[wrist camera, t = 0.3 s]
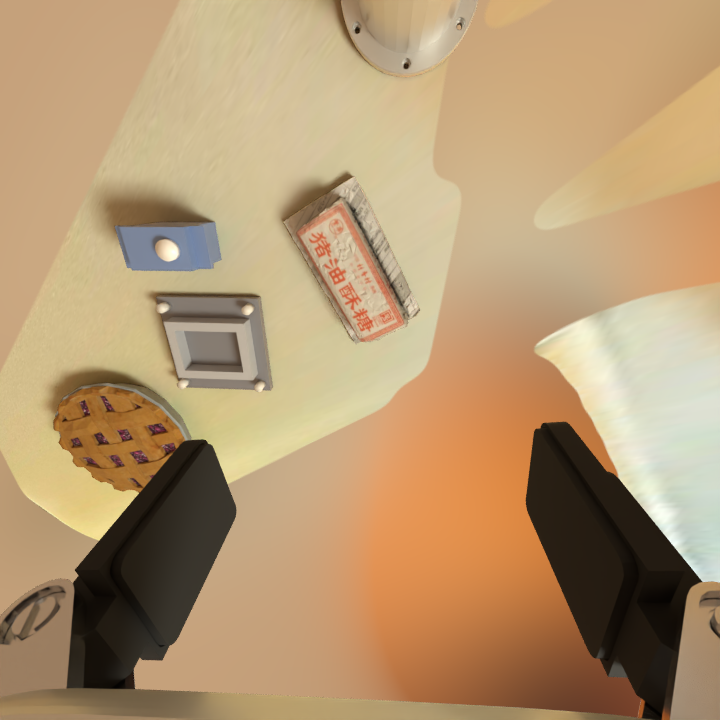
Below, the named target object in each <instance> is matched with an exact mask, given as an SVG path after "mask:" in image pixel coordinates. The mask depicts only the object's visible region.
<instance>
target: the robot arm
mask: <svg viewBox="0 0 720 720" xmlns="http://www.w3.org/2000/svg"><path fill="white" fill-rule="evenodd" d="M477 3H478V0H341V7H342V11H343V16H344V20H345V23H346V26H347V29H348V32H349V35H350V37H351V39H352V41H353V43H354V45H355V47H356V48H357V50H358V51H359V52H360V54H361V55H362V56H363V58H364V59H365V60H366V61H368V62H369V63H370V64H371V65H372V66H373V67H374V68H376V69H378V70H380V71H382V72H383V73H385V74H389V75H393V76H396V77H411V76H416V75H421V74H423V73H425V72H427V71H430V70H432V69H434V68H435V67H436V66H438V65H439V64H440V63H442V62H443V61H444V60H445V59H446V58H447V57H448V56H449V55H450V54H451V53H452V52H453V51H454V50H455V49H456V47H457V45H458V44H459V43H460V41H461V40H462V38H463V37H464V35H465V33H466V31H467V29H468V27H469V25H470V23H471V21H472V18H473V16H474V13H475V11H476V8H477ZM457 25H461V30H458V29H457V27H456V26H457ZM356 29H360V33H358V34H356V33H355V30H356ZM404 64H408V65H409V68H408V69H404V67H403V66H404ZM526 507H527V511H528V514H529V516H530V518H531V521H532V523H533V525H534V528H535V530H536V532H537V535H538V537H539V539H540V541H541V544H542V546H543V548H544V550H545V553H546V555H547V557H548V560H549V562H550V564H551V567H552V569H553V571H554V573H555V576H556V578H557V580H558V583H559V585H560V587H561V589H562V592H563V594H564V596H565V599H566V601H567V603H568V606H569V608H570V610H571V612H572V614H573V617H574V619H575V622H576V624H577V626H578V628H579V631H580V633H581V635H582V638H583V640H584V642H585V644H586V646H587V649H588V651H589V652H590V654H591V655H592V656H593V657H594V658H600V660H601V662H602V664H603V667H604V669H605V671H606V673H607V675H608V677H628V679H629V681H630V683H631V685H632V687H633V689H634V691H635V693H636V695H638V696H639V697H640V698H641V703H640V708H639V713H638V718H635V717H628V716H619V715H612V714H597V713H584V712H571V711H557V710H544V709H531V708H516V707H496V706H479V705H460V704H441V703H422V702H404V701H385V700H362V699H342V698H323V697H301V696H280V695H258V694H257V695H256V694H237V693H236V694H235V693H213V692H212V693H211V692H189V691H163V690H141V689H135V682H134V667H135V665H136V663H137V661H138V659H139V658H141V659H142V660H163V658H164V656H165V654H166V652H167V650H168V648H169V646H170V645H172V644H173V643H174V642H175V641H176V640H177V638H178V637H179V635H180V632H181V630H182V628H183V626H184V624H185V621H186V620H187V618H188V616H189V614H190V612H191V610H192V607H193V605H194V603H195V601H196V599H197V597H198V595H199V593H200V591H201V589H202V587H203V584H204V582H205V580H206V578H207V576H208V574H209V572H210V570H211V568H212V566H213V564H214V561H215V559H216V557H217V555H218V553H219V551H220V549H221V547H222V544H223V542H224V541H225V538H226V536H227V534H228V532H229V530H230V528H231V526H232V524H233V522H234V519H235V517H236V505H235V503H234V500H233V498H232V495H231V492H230V490H229V487H228V485H227V482H226V479H225V477H224V474H223V472H222V469H221V466H220V464H219V461H218V459H217V456H216V453H215V451H214V448H213V446H212V445H211V444H208V442H207V441H206V440H186V441H183V442H182V443H181V444H180V445H179V447H178V448H177V449H176V450H175V451H174V453H173V454H172V455H171V456H170V457H169V458H168V460H167V461H166V462H165V463H164V464H163V466H162V467H161V468H160V469H159V470H158V472H157V473H156V474H155V475H154V476H153V478H152V479H151V480H150V481H149V482H148V483H147V485H146V486H145V487H144V488H143V489H142V491H141V492H140V493H139V494H138V495H137V497H136V498H135V499H134V500H133V501H132V502H131V504H130V505H129V506H128V507H127V508H126V510H125V511H124V512H123V513H122V514H121V516H120V517H119V518H118V519H117V520H116V522H115V523H114V524H113V525H112V526H111V527H110V529H109V530H108V531H107V532H106V533H105V535H104V536H103V537H102V538H101V539H100V541H99V542H98V543H97V544H96V545H95V547H94V548H93V549H92V550H91V551H90V552H89V554H88V555H87V556H86V557H85V558H84V560H83V561H82V562H81V563H80V564H79V566H78V567H77V568H76V569H75V571H76V572H77V574H78V575H79V576H78V577H77V579H76V580H75V581H74V582H73V583H72V582H71V581H70V580H68V579H55V580H51V581H48V582H46V583H44V584H41V585H39V586H37V587H35V588H33V589H32V590H30V591H29V592H27V593H25V594H24V595H23V596H21V597H20V598H19V599H18V600H16V601H15V602H14V603H13V604H11V605H10V607H8V608H7V609H6V610H5V611H4V612H3V614H1V616H0V720H720V583H718V582H702V581H701V580H700V578H699V577H698V576H697V575H696V573H695V572H694V571H693V570H692V569H691V567H690V566H689V565H688V564H687V562H686V561H685V560H684V559H683V557H682V556H681V555H680V554H679V553H678V551H677V550H676V549H675V548H674V546H673V545H672V544H671V543H670V541H669V540H668V539H667V538H666V536H665V535H664V534H663V533H662V532H661V530H660V529H659V528H658V527H657V525H656V524H655V523H654V522H653V520H652V519H651V518H650V517H649V515H648V514H647V513H646V512H645V511H644V509H643V508H642V507H641V506H640V504H639V503H638V502H637V501H636V499H635V498H634V497H633V496H632V495H631V493H630V492H629V491H628V490H627V488H626V487H625V486H624V485H623V483H622V482H621V481H620V480H619V479H618V478H617V477H616V476H615V475H614V474H613V473H610V472H607V471H606V470H605V469H604V468H603V466H602V465H601V464H600V462H599V461H598V460H597V459H596V457H595V456H594V455H593V454H592V452H591V451H590V450H589V448H588V447H587V446H586V445H585V443H584V442H583V441H582V440H581V438H580V437H579V436H578V435H577V433H576V432H575V431H574V429H573V428H572V427H571V426H570V425H569V424H568V423H567V422H554V423H553V422H552V423H543V424H542V425H541V428H540V429H535V431H534V437H533V445H532V454H531V462H530V471H529V478H528V487H527V494H526Z"/></svg>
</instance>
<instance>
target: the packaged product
mask: <svg viewBox="0 0 720 720" xmlns="http://www.w3.org/2000/svg"><path fill="white" fill-rule="evenodd" d="M284 224H285V225H286V227H287V229H288V231H289V232H290V234H291V236H292V238H293V240H294V241H295V243H296V245H297V246H298V248H299V249H300V251H301V253H302V254H303V256H304V258H305V259H306V261H307V263H308V265H309V266H310V268H311V270H312V271H313V273H314V275H315V277H316V278H317V280H318V282H319V283H320V285H321V287H322V289H323V290H324V292H325V293H326V295H327V296H328V297H329V298H330V302H331V303H332V305H333V307H334V308H335V310H336V312H337V314H338V315H339V317H340V318H341V320H342V322H343V324H344V325H345V327H346V329H347V331H348V332H349V334H350V336H351V337H352V339H353V341H354V342H355V344H357V343H359V342H367V341H368V342H371V341H373V340H379V339H381V338H383V337H384V336H386V335H388V334H389V333H392V332H395V331H396V330H398V329H401V328H404V327H406V326H407V324H408V320H409V319H411V318H413V317H415V316H417V315H418V313H419V311H420V309H419V306H418V303H417V302H416V300H415V298H414V296H413V294H412V293H411V291H410V288H409V286H408V284H407V282H406V280H405V277H404V275H403V273H402V271H401V269H400V267H399V265H398V263H397V261H396V259H395V257H394V254H393V252H392V250H391V248H390V245H389V243H388V241H387V239H386V237H385V235H384V233H383V231H382V229H381V227H380V225H379V223H378V220H377V218H376V216H375V214H374V212H373V210H372V208H371V206H370V204H369V202H368V200H367V198H366V196H365V194H364V192H363V190H362V188H361V186H360V185H359V183H358V181H357V180H356V178H355V176H353V177H352V178H350V179H348V180H347V181H345V182H343V183H342V184H340V185H339V186H337V187H336V188H334V189H333V190H331V191H330V192H328V193H327V194H325V195H323V196H322V197H320V198H318V199H316V200H315V201H313V202H312V203H310V204H309V205H307V206H306V207H304V208H302V209H301V210H299V211H298V212H296V213H295V214H294V215H292V216H291V217H289V218H288V219H286V220H285V221H284Z"/></svg>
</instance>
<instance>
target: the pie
mask: <svg viewBox="0 0 720 720" xmlns="http://www.w3.org/2000/svg"><path fill="white" fill-rule="evenodd" d="M55 417H56V418H55V419H54V430H56V431H59V434H60V437H61V438H60V441H59V444H60V445H61V447H62V448H63V449H65V450H68V451H69V452H70V453H71V454H72V456H73V457H74V458H73V463H74V464H75V465H76V466H77V467H84V468H86V469H87V470H88V471H89V472H91V474H92V477H93V478H95V479H96V480H98V481H100V482H107V483H110V484H112V485H113V487H114V489H116V490H120V491H126V490H135V491H138V492H139V493H140V492H141V491H142V489H143V488H144V487H145V486H146V485H147V483H148V482H149V481H150V480H151V479H152V478H153V476H154V475H155V474H156V473H157V472H158V470H159V469H160V468H161V467H162V466H163V464H164V463H165V462H166V461H167V460H168V458H169V457H170V456H171V455H172V454H173V453H174V451H175V450H176V449H177V448H178V447H179V445H180V444H181V443H182V442H183V441H186V440H191V435H190V433H189V431H188V429H187V427H186V425H185V423H184V421H183V419H182V417H181V416H180V415H179V414H178V413H177V412H176V411H175V410H174V409H173V407H172V406H171V405H170V404H169V403H168V402H167V401H166V400H165V399H163V398H162V397H160V396H159V395H157V394H156V393H154V392H152V391H151V390H149V389H148V388H146V387H141V386H136V385H131V384H126V383H121V384H110V383H101V384H93V385H85V386H80V387H79V388H77V389H76V390H74V391H72V392H71V393H69V394H68V395H66V396H64V397H63V399H62V401H61V403H60V404H59V406H58V410H57V413H56V415H55Z"/></svg>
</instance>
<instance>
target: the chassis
mask: <svg viewBox="0 0 720 720" xmlns="http://www.w3.org/2000/svg"><path fill="white" fill-rule="evenodd" d="M156 299H157V303H158V305H156V311H157V312H158V313H160V314H161V317H162V321H163V324H164V328H165V332H166V335H167V339H168V343H169V346H170V350H171V354H172V357H173V361H174V365H175V368H176V372H177V375H178V379H179V382H178V383H177V386H178V388H180V389H184V388H185V387H193V388H219V389H245V390H255V391H257V392H261V391H262V390H271V389H272V387H273V385H272V378H271V370H270V363H269V356H268V348H267V341H266V334H265V326H264V319H263V311H262V304H261V297H251V296H196V295H159V296H157V297H156Z"/></svg>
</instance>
